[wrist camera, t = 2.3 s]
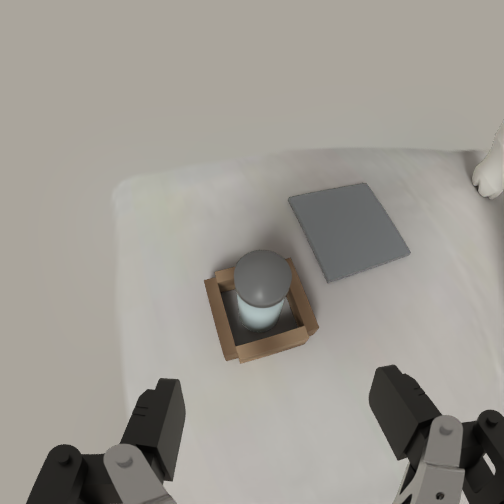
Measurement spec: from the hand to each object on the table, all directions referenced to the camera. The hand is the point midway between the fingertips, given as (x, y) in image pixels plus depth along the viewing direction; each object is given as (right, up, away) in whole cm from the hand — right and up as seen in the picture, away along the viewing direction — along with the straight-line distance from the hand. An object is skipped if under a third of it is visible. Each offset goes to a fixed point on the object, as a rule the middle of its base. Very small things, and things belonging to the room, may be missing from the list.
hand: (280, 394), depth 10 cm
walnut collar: (0, 0, +18) cm, 18 cm away
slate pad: (+11, +9, +23) cm, 27 cm away
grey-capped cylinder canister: (0, 0, +18) cm, 18 cm away
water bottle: (+43, +18, +29) cm, 55 cm away
